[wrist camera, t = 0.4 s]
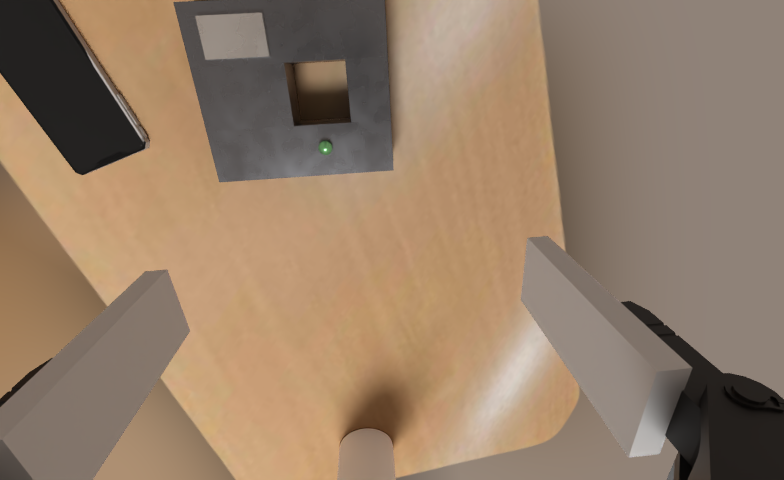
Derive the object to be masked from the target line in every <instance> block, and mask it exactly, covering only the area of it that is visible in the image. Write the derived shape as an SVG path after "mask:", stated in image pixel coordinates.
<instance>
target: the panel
mask: <svg viewBox="0 0 784 480" xmlns="http://www.w3.org/2000/svg"><path fill="white" fill-rule="evenodd" d="M174 6H175V10H176V14H177V18H178V22H179V26H180V30H181V34H182V38H183V42H184V45H185V49H186V53H187V57H188V61H189V65H190V69H191V73H192V77H193V81H194V85H195V88H196V92H197V96H198V100H199V104H200V108H201V112H202V116H203V120H204V124H205V128H206V132H207V135H208V139H209V143H210V147H211V151H212V155H213V159H214V163H215V167H216V171H217V175H218V178H219V182H231V181H245V180H259V179H274V178H288V177H303V176H317V175H332V174H346V173H361V172H375V171H390V170H393V152H392V133H391V113H390V94H389V74H388V55H387V35H386V15H385V0H209V1H188V2H174ZM333 61H345V62H346V73H347V83H348V94H349V104H350V115H351V118H336V119H320V120H304V121H301V118H300V111H299V104H298V98H297V91H296V84H295V77H294V71H293V64H297V63H315V62H333Z"/></svg>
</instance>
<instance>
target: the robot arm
mask: <svg viewBox="0 0 784 480" xmlns="http://www.w3.org/2000/svg"><path fill="white" fill-rule="evenodd" d="M521 301H522V302H523V304H524V305H525V306H526V308H527V309H528V311H529V312H530V314H531V315H532V317H533V318H534V320H535V321H536V323H537V324H538V326H539V327H540V328H541V330H542V331H543V333H544V334H545V336H546V337H547V339H548V340H549V342H550V343H551V345H552V346H553V347H554V349H555V350H556V352H557V353H558V355H559V356H560V358H561V359H562V361H563V362H564V364H565V365H566V367H567V368H568V369H569V371H570V372H571V374H572V375H573V377H574V378H575V380H576V381H577V383H578V384H579V386H580V387H581V389H582V390H583V391H584V393H585V394H586V396H587V397H588V399H589V400H590V402H591V403H592V404H593V406H594V408H595V409H596V410H597V412H598V413H599V415H600V416H601V418H602V419H603V421H604V422H605V423H606V425H607V427H608V428H609V429H610V431H611V432H612V434H613V435H614V437H615V438H616V440H617V441H618V443H619V444H620V446H621V447H622V449H623V450H624V452H626V454H627V456H628V457H637V456H646V455H655V454H660V451H661V448H662V446H663V443H664V441H665V438H666V437H667V438H668V439H669V441H670V442H671V443H672V444H673V445H674V447H675V448H676V449H677V450H678V454H677V456H676V459H675V461H674V463H673V466H672V468H671V471H670V473H669V475H668V478H667V480H784V399H783V398H781V397H780V396H779V395H778V394H777V393H776V392H775V391H773V390H771V389H770V388H768V387H766V386H765V385H763V384H761V383H759V382H757V381H754V380H752V379H749V378H746V377H744V376H739V375H735V374H730V373H722V372H721V371H720V370H718V369H717V368H716V367H715V366H714V365H712V364H711V363H710V362H709V361H708V360H707V359H705V358H704V357H703V356H702V355H701V354H700V353H698V352H697V351H696V350H695V349H694V348H692V347H691V346H690V345H689V344H688V343H687V342H685V341H684V340H683V339H682V338H681V337H679V336H676V335H675V332H674V331H672V330H671V329H670V328H669V327H668V326H667V325H665V326H664V324H663V322H662V321H661V320H659V319H658V318H657V317H656V316H655V315H653V314H652V313H651V312H650V311H649V310H647V309H645V308H643V307H641V306H639V305H637V304H635V303H633V302H631V301H627V302H620V301H618V300H617V299H616V298H615V297H614V296H613V295H612V294H611V293H609V292H608V291H607V290H606V289H605V288H604V287H603V286H602V285H601V284H599V283H598V281H596V280H595V279H594V278H593V277H592V276H591V275H590V274H589V273H587V272H586V271H585V270H584V269H583V268H582V267H581V266H580V265H579V264H578V263H577V262H575V261H574V260H573V259H572V258H571V257H570V256H569V255H568V254H567V253H566V252H565V251H563V250H562V249H561V248H560V247H559V246H558V245H557V244H556V243H555V242H554V241H552V240H551V239H550V238H549V237H548V236H543V237H532V238H527V247H526V256H525V265H524V275H523V284H522V293H521ZM189 332H190V329H189V326H188V324H187V321H186V318H185V316H184V313H183V310H182V308H181V305H180V302H179V300H178V297H177V294H176V292H175V289H174V286H173V284H172V281H171V278H170V276H169V273H168V270H157V271H146V272H144V273H143V274H142V275H141V276H140V277H139V278H138V279H137V280H136V281H135V282H134V283H133V284H131V285H130V286H129V287H128V288H127V289H126V290H125V291H124V292H123V293H122V294H121V295H120V296H119V297H118V298H117V299H115V300H114V301H113V302H112V303H111V304H110V305H109V306H108V307H107V308H106V309H105V310H104V311H103V312H102V313H101V314H99V315H98V316H97V317H96V318H95V319H94V320H93V321H92V322H91V323H90V324H89V325H88V326H87V327H86V328H84V329H83V330H82V331H81V332H80V333H79V334H78V335H77V336H76V337H75V338H74V339H73V340H72V341H71V342H70V343H68V344H67V345H66V346H65V347H64V348H63V349H62V350H61V351H60V352H59V353H58V354H57V355H56V356H55V357H54V358H51V359H50V360H48V361H46V362H45V363H43V364H42V365H40V366H39V367H37V368H35V369H34V370H32V371H31V372H29V373H28V374H27V375H26V376H25V377H24V378H23V379H22V380H20V381H19V382H18V383H17V384H16V385H15V386H14V387H13V388H12V391H11V392H7V393H6V394H5V395H4V396H3V397H2V398H1V399H0V480H93V478H94V477H95V475H96V473H97V472H98V471H99V469H100V467H101V466H102V464H103V463H104V461H105V460H106V458H107V457H108V455H109V454H110V452H111V451H112V449H113V448H114V446H115V445H116V443H117V442H118V440H119V438H120V437H121V436H122V434H123V433H124V431H125V429H126V428H127V426H128V425H129V423H130V422H131V420H132V419H133V417H134V416H135V414H136V413H137V411H138V410H139V408H140V407H141V405H142V403H143V402H144V401H145V399H146V397H147V396H148V394H149V393H150V391H151V390H152V388H153V387H154V385H155V384H156V382H157V381H158V379H159V378H160V376H161V375H162V373H163V372H164V370H165V369H166V367H167V365H168V364H169V362H170V361H171V359H172V358H173V356H174V355H175V353H176V352H177V350H178V349H179V347H180V346H181V344H182V343H183V341H184V340H185V338H186V337H187V335H188V333H189Z"/></svg>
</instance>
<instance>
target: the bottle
mask: <svg viewBox="0 0 784 480" xmlns="http://www.w3.org/2000/svg"><path fill="white" fill-rule="evenodd" d="M337 480H396V478H395V465H394V453H393V443H392V440H391V439H390V437H389V436H388V435H387V434H386V433H384V432H382V431H380V430H377V429H370V428H365V429H359V430H356V431H353V432H351V433H349V434H348V435H347V436H345V437H344V439H343V440H342V442H341V444H340V449H339V462H338V478H337Z"/></svg>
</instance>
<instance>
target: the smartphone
mask: <svg viewBox="0 0 784 480" xmlns="http://www.w3.org/2000/svg"><path fill="white" fill-rule="evenodd" d="M0 73H1V75H2V76H3V77H4V78H5V80H6V81H7V82H8V84H9V85H10V86H11V88H12V89H13V90H14V92H15V93H16V94H17V96H18V97H19V98H20V100H21V101H22V102H23V104H24V105H25V106H26V108H27V109H28V110H29V112H30V113H31V114H32V116H33V117H34V118H35V119H36V121H37V122H38V123H39V125H40V126H41V127H42V129H43V130H44V131H45V133H46V134H47V135H48V137H49V138H50V139H51V141H52V142H53V143H54V145H55V146H56V147H57V149H58V150H59V151H60V153H61V154H62V155H63V157H64V158H65V159H66V161H67V162H68V163H69V164H70V166H71V167H72V168H73V170H74V171H75V172H76V173H78V174H81V175H85V174H88V173H90V172H93V171H95V170H97V169H100V168H102V167H104V166H107V165H109V164H112V163H114V162H116V161H119V160H121V159H124V158H126V157H128V156H131V155H133V154H136V153H138V152H140V151H143V150H145V149H147V148H149V146H150V141H149V139H148V138H147V137H148V136H147V134H146V133H145V131H144V130H143V128H142V127H140V125H139V124H140V123H139V121H138V120H137V118H136V116H135V115H134V113H133V112H132V110H129V109H130V107H129V106H128V104H127V103H126V101H125V100H124V98H123V97H122V95H121V94H119V93H118V92H117V90H116V88H115V87H114V85H113V84H112V82H111V81H110V79H109V78H108V76H107V75H106V73H105V72H104V70H103V69H102V67H101V65H100V64H99V62H98V61H97V59H96V58H95V56H94V55H93V53H92V52H91V50H90V49H89V47H88V46H87V44H86V42H85V41H84V39H83V38H82V36H81V35H80V33H79V32H78V30H77V29H76V27H75V26H74V24H73V23H72V21H71V19H70V18H69V16H68V15H67V13H66V12H65V10H64V9H63V7H62V6H61V4H60V3H59V1H58V0H0Z"/></svg>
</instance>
